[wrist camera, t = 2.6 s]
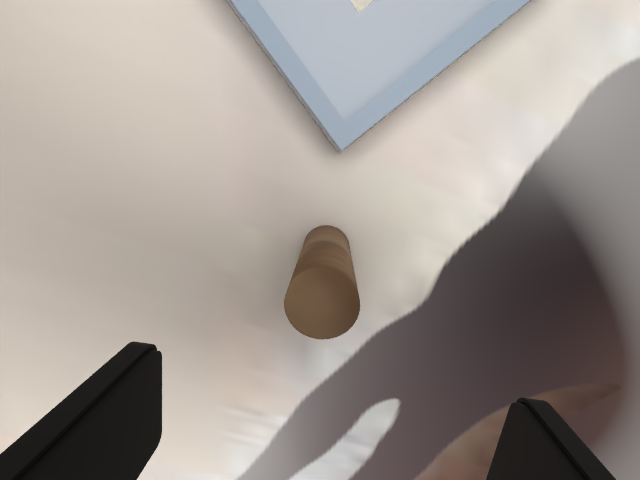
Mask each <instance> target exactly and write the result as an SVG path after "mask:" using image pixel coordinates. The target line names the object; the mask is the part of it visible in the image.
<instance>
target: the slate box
mask: <svg viewBox="0 0 640 480" xmlns="http://www.w3.org/2000/svg"><path fill="white" fill-rule="evenodd" d="M530 1H531V0H374V1H372V2H371V3H370V4H369V5H368V6H367V7H366V8H365V9H363V10H362V11H361V12H360V13H358V12H357V10H356V8H355V7H354V5H353V4H352V2H351V1H350V0H227V2H228V3H229V5H230V6H231V7H232V9H233V10H234V11H235V13H236V14H237V15H238V17H239V18H240V19H241V21H242V22H243V24H244V25H245V26H246V28H247V29H248V30H249V32H250V33H251V34H252V36H253V37H254V38H255V40H256V41H257V43H258V44H259V45H260V47H261V48H262V49H263V51H264V52H265V53H266V55H267V56H268V57H269V59H270V60H271V62H272V63H273V64H274V66H275V67H276V68H277V70H278V71H279V72H280V74H281V75H282V76H283V78H284V79H285V81H286V82H287V83H288V85H289V86H290V87H291V89H292V90H293V91H294V93H295V94H296V95H297V97H298V98H299V99H300V101H301V102H302V104H303V105H304V106H305V108H306V109H307V110H308V112H309V113H310V114H311V116H312V117H313V118H314V120H315V121H316V123H317V124H318V125H319V127H320V128H321V129H322V131H323V132H324V133H325V135H326V136H327V137H328V139H329V140H330V142H331V143H332V144H333V146H334V147H335V148H336V150H337V151H338V152H339V153H340V152H342V151H343V150H344V149H345V148H347V147H348V146H349V145H350V144H352V143H353V142H354V141H355V140H357V139H358V138H359V137H360V136H362V135H363V134H364V133H365V132H367V131H368V130H369V129H370V128H372V127H373V126H374V125H375V124H377V123H378V122H379V121H380V120H382V119H383V118H384V117H386V116H387V115H388V114H389V113H391V112H392V111H393V110H394V109H396V108H397V107H398V106H399V105H401V104H402V103H403V102H404V101H406V100H407V99H408V98H409V97H411V96H412V95H413V94H414V93H416V92H417V91H418V90H419V89H421V88H422V87H423V86H424V85H426V84H427V83H428V82H429V81H431V80H432V79H433V78H434V77H436V76H437V75H438V74H439V73H441V72H442V71H443V70H444V69H446V68H447V67H448V66H449V65H451V64H452V63H453V62H454V61H456V60H457V59H458V58H459V57H461V56H462V55H463V54H464V53H466V52H467V51H468V50H469V49H471V48H472V47H473V46H475V45H476V44H477V43H478V42H480V41H481V40H482V39H483V38H485V37H486V36H487V35H488V34H490V33H491V32H492V31H493V30H495V29H496V28H497V27H498V26H500V25H501V24H502V23H503V22H505V21H506V20H507V19H508V18H510V17H511V16H512V15H513V14H515V13H516V12H517V11H518V10H520V9H521V8H522V7H523V6H525V5H526V4H527V3H528V2H530Z"/></svg>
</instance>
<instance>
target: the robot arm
mask: <svg viewBox="0 0 640 480" xmlns="http://www.w3.org/2000/svg"><path fill="white" fill-rule="evenodd" d="M161 434H162V354H161V352H160V351H157V348H156V346H155V345H154V344H147V343H140V342H130V343H129V344H127V345H126V346H125V347H124V348H123V349H122V350H121V351H119V352H118V353H117V354H116V355H115V356H114V357H112V358H111V359H110V360H109V361H108V362H107V363H105V364H104V365H103V366H102V367H101V368H100V369H99V370H97V371H96V372H95V373H94V374H93V375H92V376H90V377H89V378H88V379H87V380H86V381H85V382H83V383H82V384H81V385H80V386H79V387H78V388H77V389H75V390H74V391H73V392H72V393H71V394H70V395H68V396H67V397H66V398H65V399H64V400H63V401H61V402H60V403H59V404H58V405H57V406H56V407H55V408H53V409H52V410H51V411H50V412H49V413H48V414H46V415H45V416H44V417H43V418H42V419H41V420H39V421H38V422H37V423H36V424H35V425H34V426H33V427H31V428H30V429H29V430H28V431H27V432H26V433H24V434H23V435H22V436H21V437H20V438H19V439H17V440H16V441H15V442H14V443H13V444H12V445H11V446H9V447H8V448H7V449H6V450H5V451H4V452H2V453H1V454H0V480H137V478H138V477H139V475H140V473H141V472H142V470H143V469H144V467H145V466H146V464H147V462H148V461H149V459H150V458H151V456H152V455H153V453H154V451H155V450H156V448H157V446H158V444H159V442H160V439H161ZM486 480H616V479H615V478H614V477H613V476H612V474H611V473H610V472H609V471H608V470H607V469H606V468H605V467H604V465H603V464H602V463H601V462H600V461H599V460H598V459H597V457H596V456H595V455H594V454H593V453H592V452H591V451H590V449H589V448H588V447H587V446H586V445H585V444H584V443H583V442H582V440H581V439H580V438H579V437H578V436H577V435H576V434H575V432H574V431H573V430H572V429H571V428H570V427H569V426H568V424H567V423H566V422H565V421H564V420H563V419H562V418H561V417H560V415H559V414H558V413H557V412H556V411H555V410H554V409H553V407H552V406H551V405H550V404H549V403H547V402H546V401H543V400H536V399H529V398H519V399H518V400H517V401H516V403H512V404H511V406H510V408H509V411H508V414H507V417H506V420H505V423H504V426H503V429H502V433H501V436H500V439H499V442H498V445H497V448H496V451H495V454H494V457H493V460H492V463H491V466H490V469H489V472H488V475H487V478H486Z"/></svg>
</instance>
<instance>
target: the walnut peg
mask: <svg viewBox="0 0 640 480" xmlns="http://www.w3.org/2000/svg"><path fill="white" fill-rule="evenodd" d="M284 307H285V312H286V315H287V318H288V320H289V321H290V323H291V324H292V326H293V327H294V328H295V329H296V330H298V331H299V332H300V333H302V334H304V335H306V336H308V337H311V338H315V339H330V338H334V337H337V336H340V335H342V334H343V333H345V332H346V331H348V330H349V329H350V328H351V327H352V326H353V324H354V323H355V321H356V320H357V317H358V315H359V311H360V300H359V294H358V289H357V284H356V279H355V273H354V268H353V263H352V257H351V252H350V247H349V242H348V239H347V237H346V235H345V234H344V233H343V232H342V231H341V230H340V229H338V228H336V227H333V226H327V225H325V226H320V227H317V228H315V229H313V230H312V231H311V232H310V233H309V234H308V235H307V237H306V239H305V242H304V245H303V248H302V250H301V253H300V256H299V259H298V262H297V264H296V267H295V270H294V273H293V275H292V278H291V281H290V284H289V287H288V289H287V292H286V295H285V300H284Z"/></svg>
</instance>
